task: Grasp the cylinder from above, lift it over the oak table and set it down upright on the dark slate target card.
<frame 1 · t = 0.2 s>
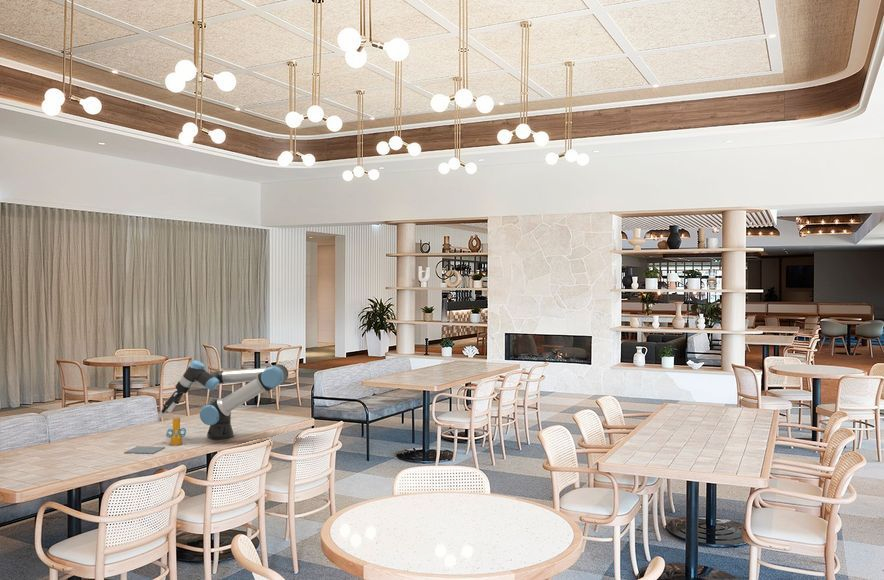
hand: (164, 414, 409), 16 cm above the table, tool tilted 35°, fingers open, 13 cm apart
cylinder: (176, 444, 401), on the table
target card: (145, 450, 385), on the table
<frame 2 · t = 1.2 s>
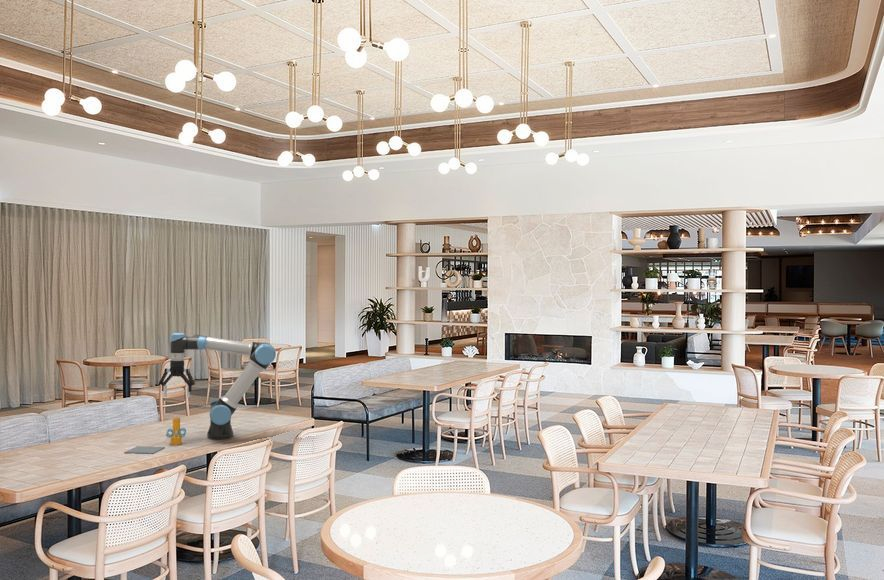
hand: (176, 397, 402), 27 cm above the table, tool pointing down, fingers open, 13 cm apart
nothing on the table moved.
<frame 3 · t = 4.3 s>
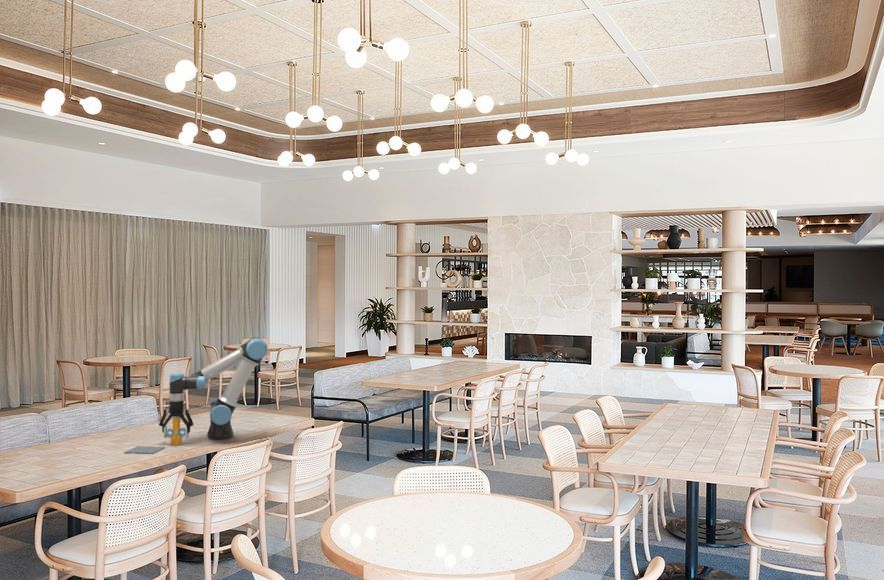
hand: (176, 438, 401), 3 cm above the table, tool pointing down, fingers closed on cylinder, 12 cm apart
cylinder: (176, 444, 401), on the table, touching gripper
when the fingers open (5 cm above the table, at t = 12.5 s): cylinder drops 1 cm, resting on target card.
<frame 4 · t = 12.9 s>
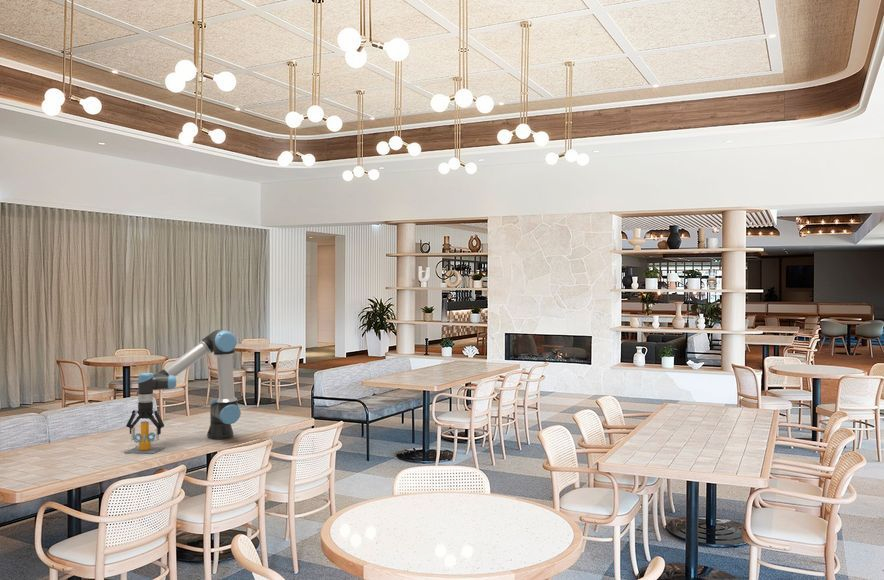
hand: (145, 440, 385), 6 cm above the table, tool pointing down, fingers open, 13 cm apart
cylinder: (144, 449, 385), resting on target card
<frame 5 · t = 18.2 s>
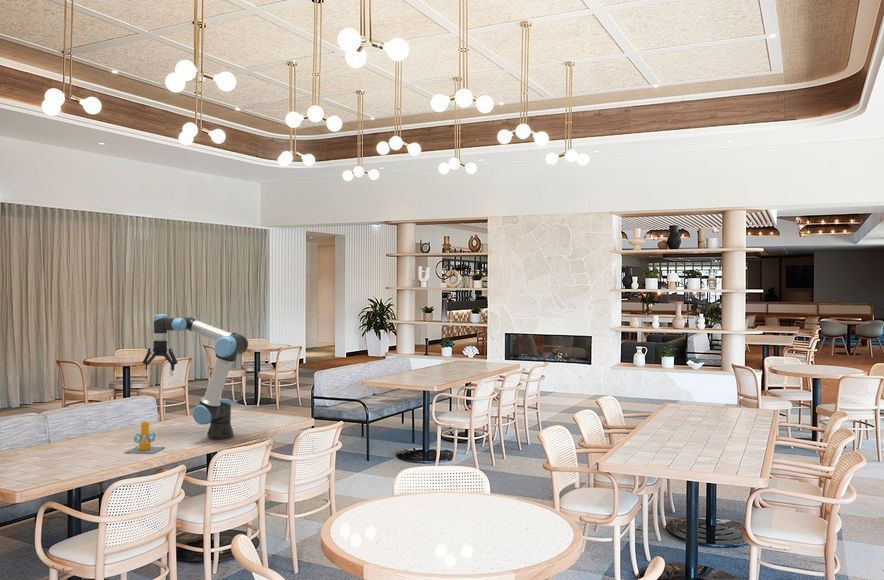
hand: (160, 375, 418), 37 cm above the table, tool pointing down, fingers open, 13 cm apart
nothing on the table moved.
at the end: cylinder 0.3 cm off-centre on the target card, point 0.4 cm above the target card's base; cylinder tilted 0°; the gripper is holding nothing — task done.
